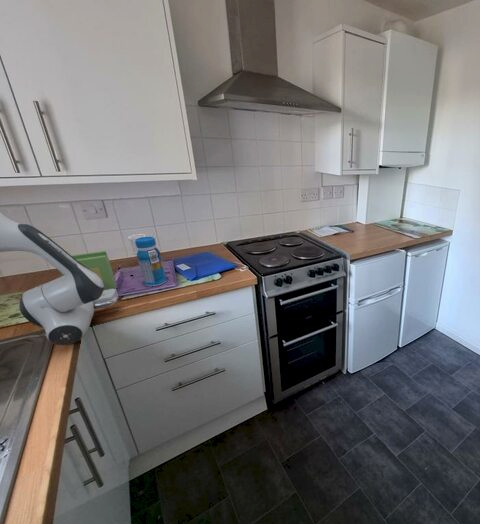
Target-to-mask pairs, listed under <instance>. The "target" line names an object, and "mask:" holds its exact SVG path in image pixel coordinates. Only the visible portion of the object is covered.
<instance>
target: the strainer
mask: <svg viewBox="0 0 480 524" xmlns="http://www.w3.org/2000/svg"><path fill="white" fill-rule="evenodd" d="M141 237H147V236H146V234H144V233H138V234H133V235H129V236H127V239H128V241H130V244H131V247H132V251H131V253H132V255H134V256H137V252H138V250H139V249H138V248H137V246H136V243H135V240H136V239H138V238H141Z"/></svg>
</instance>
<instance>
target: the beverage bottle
mask: <svg viewBox="0 0 480 524" xmlns="http://www.w3.org/2000/svg"><path fill="white" fill-rule="evenodd" d="M137 238H138V239H136V240H134V241H135V243H136V246H137V248H138V249H139V250H138V252H137V255H136V258H137V259H138V260H137V263H138V265H139V266H140V267H139V268H140V271H141V274H142V278H143V284H144V286H146V287H150V288H152V286H153V287H158V286H161V285H164V284H165V283H167V277H166V272H165V269H164V268H165V267H164V265H163V258H162V256H161V251H160V250H159V248H157V242H156V239H155V237H154V236H146V237H141V238H139V237H137Z"/></svg>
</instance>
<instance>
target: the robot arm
mask: <svg viewBox="0 0 480 524" xmlns="http://www.w3.org/2000/svg"><path fill="white" fill-rule="evenodd" d="M7 252H26V253H33V254H35V255H37V256H39V257H41V259H43V260H45V261H46V262H47V263H48V264H49V265H51V266H52V267H53V268H55V269H57V270H58V271H59V272H60V273H61V272H62V273H63V274H64V276H62V275H61V276H60V277H57V278H56V279H55V278H54V279H53V280H50V281H48V282H45V283H42V284H40V285H37V286H35V287H33V288H30V289H28V290H26V291H24V292H22V294H21V296H20V298H19V305H18V306H19V307H18V309H19V312H20V313H21V315H22V316H23V317H24V318H25V319H26V320H27V321H28V322H30V323H31V324H33V325H34V326H37V327H40V328H42V329H43V330H44V332H45V337H46V339H47V340H48V341H49V342H50V343H51V344H54V345H55V346H68V345H72V344H75V343H77V342H79V341H81V340H82V339H83V338H84V337H85V335H86V334H87V333H88V332H89V329H90V326H91V323H92V319H93V317H94V314H95V311H96V310H98V309H103V308H108V307H111V306H113V305H115V304H116V303H117V302H118V299H119V294H118V290H117V289H108V290H104V287H105V285H104V283H103V281H102V280H101V278H100V277H99V276H98V275H97V274H95V273H94V272H93V271H91V270H90V269H88V268H87V267H85V266H84V265H82V264H81V263H80V262H78V261H77V260H76V259H75V258H73V257H72V255H71V254H70V253H69V252H68V251H66V250H65V249H64V248H63V247H61V246H60V245H59V244H57V242H56V241H54V240H53V239H52V238H50V237H49V236H48V235H46V234H45V233H43V232H42V231H41V230H40V229H38V228H36V227H35V226H32V225H31V224H28V223H19V222H16V221H14V220H12V219H10V218H8V217H7V216H5V215H4V214H3V213H1V212H0V253H7Z"/></svg>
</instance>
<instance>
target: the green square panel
mask: <svg viewBox="0 0 480 524" xmlns="http://www.w3.org/2000/svg"><path fill="white" fill-rule="evenodd" d="M71 256H72V257H73V258H75V259H76V260H77V261H78V262H80V263H81V264H82V265H84V266H85V267H87V268H88V269H90V270H91V271H93V272H94V273H95V274H97V275H98V276H99V277H100V278H101V280H102V281H103V283H104V285H105V287H104V290H108V289H116V288H118V284H117V281H116V278H115V275H114V272H113V269H112V265H111V261H110V259H109V256H108V253H107V251H106V250H102V251H95V252H89V253H88V252H87V253H80V254H73V255H71ZM60 274H61V277H62V276H64V274H63V273H62V272H60ZM116 290H117V289H116Z"/></svg>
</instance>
